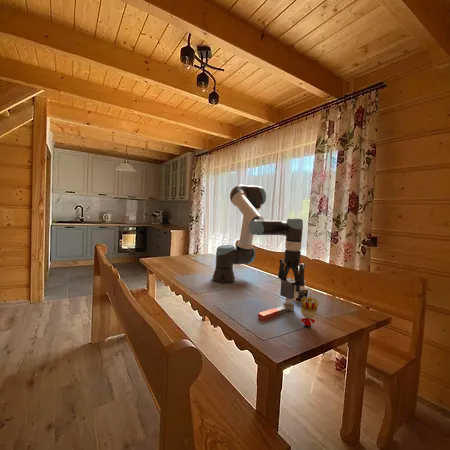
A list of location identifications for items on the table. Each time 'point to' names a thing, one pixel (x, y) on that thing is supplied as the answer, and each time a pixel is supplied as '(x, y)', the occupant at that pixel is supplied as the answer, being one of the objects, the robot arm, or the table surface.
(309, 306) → the toy
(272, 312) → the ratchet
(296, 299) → the medicine bottle
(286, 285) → the dark wooden cube
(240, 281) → the table surface
